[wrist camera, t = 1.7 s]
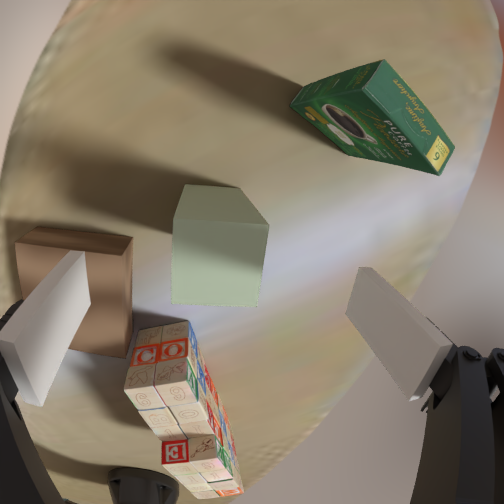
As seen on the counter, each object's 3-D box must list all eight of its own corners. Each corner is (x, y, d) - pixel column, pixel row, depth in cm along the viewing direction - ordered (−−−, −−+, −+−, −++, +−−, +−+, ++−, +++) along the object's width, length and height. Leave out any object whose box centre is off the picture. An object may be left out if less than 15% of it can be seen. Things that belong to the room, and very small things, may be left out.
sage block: (234, 240, 28) (256, 306, 17) (181, 236, 27) (171, 303, 16) (240, 188, 27) (269, 225, 16) (185, 184, 26) (173, 218, 15)
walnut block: (133, 329, 31) (125, 358, 26) (48, 315, 28) (32, 340, 24) (133, 236, 27) (121, 255, 22) (38, 225, 24) (14, 242, 20)
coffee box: (364, 137, 27) (460, 147, 15) (349, 158, 27) (442, 180, 15) (304, 84, 24) (382, 52, 12) (286, 106, 25) (357, 85, 13)
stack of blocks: (136, 328, 30) (117, 414, 19) (189, 318, 31) (189, 406, 20) (193, 433, 39) (198, 500, 27) (232, 426, 39) (244, 494, 28)
